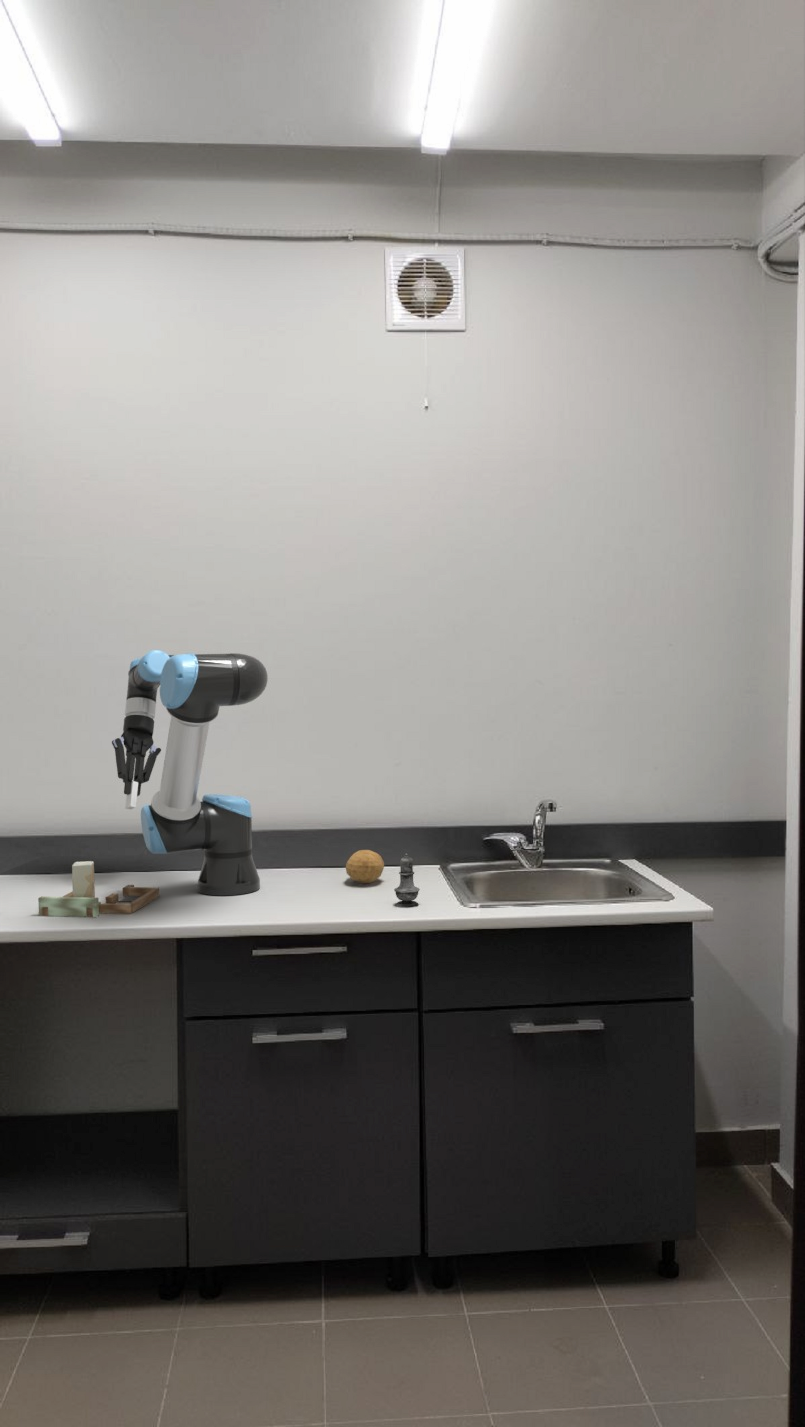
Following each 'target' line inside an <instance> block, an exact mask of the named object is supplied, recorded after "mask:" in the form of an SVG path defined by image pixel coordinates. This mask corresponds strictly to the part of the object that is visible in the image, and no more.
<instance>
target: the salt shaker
mask: <svg viewBox="0 0 805 1427" xmlns="http://www.w3.org/2000/svg"><path fill="white" fill-rule="evenodd" d="M399 862H400V863H399V864H400V866H399V868H400V871H399V872H398V874H399V878H400V881H399V884H398V886H397V887H396V888H394V889H393V890H394V892H395V896H396V899H398V900H399V901H397V902H396V903H395V906H396V907H398V908H415V907H418V906H419V902H417V901H415V900H416V899H417V898H418V895H419V891H420V890H421V889H420V888H419V887H417V886H415V884H414V882H415V881H414V874H415V871H414V865H413V864H414V860H413V858H411V857H409V856H408V853H407V852H406V853H405V854H404V857H402V858H401V859H400V861H399Z"/></svg>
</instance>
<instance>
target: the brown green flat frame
mask: <svg viewBox="0 0 805 1427" xmlns="http://www.w3.org/2000/svg"><path fill="white" fill-rule="evenodd" d="M159 891H160V888H159V887H149V886H147V887H145V886H138V887H137V886H135V884H127V885H125V886H124V887H122V897H123V898H121V899H120V897H119V896H120V894H119V893H114V892H113V893H110V894H109V895H107V896H105V903H102V902H101V901H99V897H95V898H89V897H73V890H72V891H70V892H68V893H67V894H65V895H62V896H39V897H37V898H38V903H37V904H38V916H40V917H78V916H81V917H82V918H84V916H86V917H85V918H97V917H98V916H100V914H115V915H116V914H119V915H120V914H121V915H122V914H123V915H131V914H134V913H135V912H136V911H138V910H139V909H141V908H143V907H144V906H146V905H148V904H150V903H151V902H153V901H155V900H156V899H158V898H159V897H160V892H159ZM157 897H158V898H157ZM81 917H80V918H81Z"/></svg>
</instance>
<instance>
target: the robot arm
mask: <svg viewBox="0 0 805 1427" xmlns="http://www.w3.org/2000/svg"><path fill="white" fill-rule="evenodd" d="M268 679H269V678H268V672H267V669H266V667H265V665H264V664H263V662H262V661H260V659H257V658H256V657H254V656H251V655H247V654H243V653H236V652H235V653H203V654H201V653H198V654H197V653H196V654H194V653H191V652H188V653H184V654H168V653H166V652H165V651H162V650H159V649H153V650H150V651H148V652H147V653H145V654H144V655H143V656H142V657H140V658H139V657H138V658H136V659H133V660H132V661H131V662H130V664H129V670H128V680H127V691H126V693H127V694H126V699H125V700H126V702H125V709H124V716H125V717H124V719H123V729H122V730H123V732H122V734H121V735H120V737H118V738H115V739H113V740H112V741H111V745H112V747H113V749H114V753H115V763H116V764H115V765H116V770H117V771H116V772H117V778H118V779H121V780H122V782H123V783H124V785H123V786H124V788H123V794H124V795H126V799H125V808H124V809H127V810H133V809H136V808H137V800H138V797H139V796H140V795H141V789H142V784H144V783H148V782H149V781H150V778H151V775H152V772H153V769H154V767H155V763H156V760H157V757H158V756H159V755H160V754H161V751H162V749H161V747H157V746H156V745H155V744H154V739H153V736H154V735H153V734H154V728H155V720H154V719H155V718H156V708H157V695H158V688H159V698H160V701H161V703H162V704H161V705H163V706H164V708H165V709H166V711H167V713H168V714H169V716H170V723H169V729H168V737H167V742H166V749H165V754H164V761H163V768H162V775H161V780H160V787H159V790H158V791H157V792H155V794H154V795H153V796H152V798H151V801H150V802H151V803H150V804H146V805H143V806H142V807H141V809H140V822H141V823H140V825H141V829H142V835H143V841H144V844H145V847H146V848H147V850H148V851H149V852H150V853H151V854H154V855H155V854H156V855H158V854H165V855H166V854H167V855H168V854H170V853H171V854H172V853H182V852H189V851H190V852H192V851H200V850H201V851H202V850H204V851H203V852H204V853H203V854H204V856H203V857H204V858H203V862H202V866H201V869H200V872H199V876H198V880H197V891H198V892H199V893H200V894H204V895H210V896H236V895H244V894H250V893H253V892H257V891H258V890H259V889H261V879H260V876H259V872H258V871H257V868H256V864H255V861H254V859H253V834H252V827H253V826H252V824H253V823H252V822H253V821H252V819H253V816H252V808H251V807H252V806H251V802H250V800H248V799H246V798H245V797H241V796H236V795H229V794H228V795H227V794H218V793H217V794H213V793H211V794H204V795H203V796H202V798H201V800H202V801H201V800H200V798H199V797H198V789H199V784H200V777H201V773H202V772H201V771H202V767H203V761H204V756H205V750H206V745H207V744H206V743H207V740H208V734H209V728H210V723H212V722H213V721H214V720H215V719H217V717H218V715H219V711H220V707H230V706H240V705H245V704H248V703H252V702H253V701H255V700H256V699H258V698H259V697H260V696H261V695H262V694H263V693H264V692H265V689H266V688H267V684H268ZM124 747H125V748H124ZM125 751H126V752H125ZM147 751H149V752H148V753H149V754H148V756H147ZM146 756H147V758H146ZM145 758H146V762H145Z"/></svg>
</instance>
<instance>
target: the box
mask: <svg viewBox="0 0 805 1427" xmlns="http://www.w3.org/2000/svg"><path fill="white" fill-rule="evenodd" d="M71 876H72V877H71V880H72V881H71V882H72V891H73V897H89V898H96V891H95V889H96V888H95V862H94V861H91V860H88V861H74V863H73V864H72V865H71Z"/></svg>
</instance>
